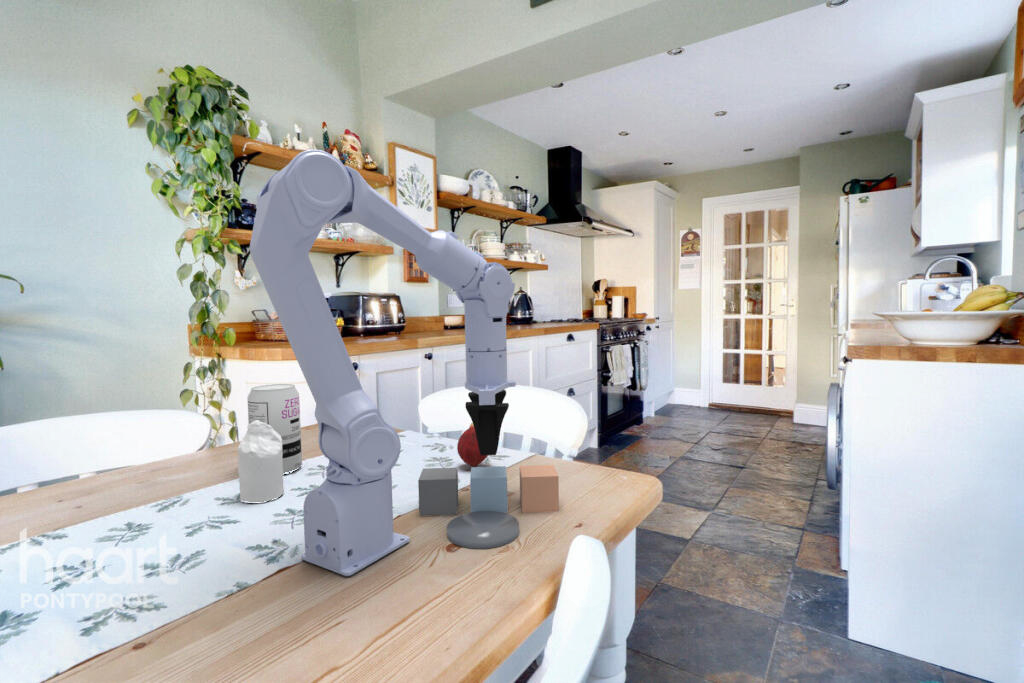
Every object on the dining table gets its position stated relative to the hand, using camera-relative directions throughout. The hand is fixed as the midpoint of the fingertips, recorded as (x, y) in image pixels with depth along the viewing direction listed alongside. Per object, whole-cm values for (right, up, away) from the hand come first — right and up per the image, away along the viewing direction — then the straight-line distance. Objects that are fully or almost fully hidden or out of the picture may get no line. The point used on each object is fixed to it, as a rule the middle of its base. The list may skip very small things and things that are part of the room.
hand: (488, 446), depth 70 cm
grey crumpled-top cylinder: (-34, -9, +5) cm, 36 cm away
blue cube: (0, -9, +1) cm, 9 cm away
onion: (-3, -8, +18) cm, 20 cm away
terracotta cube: (+7, -9, +1) cm, 11 cm away
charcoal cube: (-7, -9, 0) cm, 11 cm away
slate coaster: (0, -9, -8) cm, 12 cm away
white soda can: (-38, -8, +18) cm, 43 cm away
